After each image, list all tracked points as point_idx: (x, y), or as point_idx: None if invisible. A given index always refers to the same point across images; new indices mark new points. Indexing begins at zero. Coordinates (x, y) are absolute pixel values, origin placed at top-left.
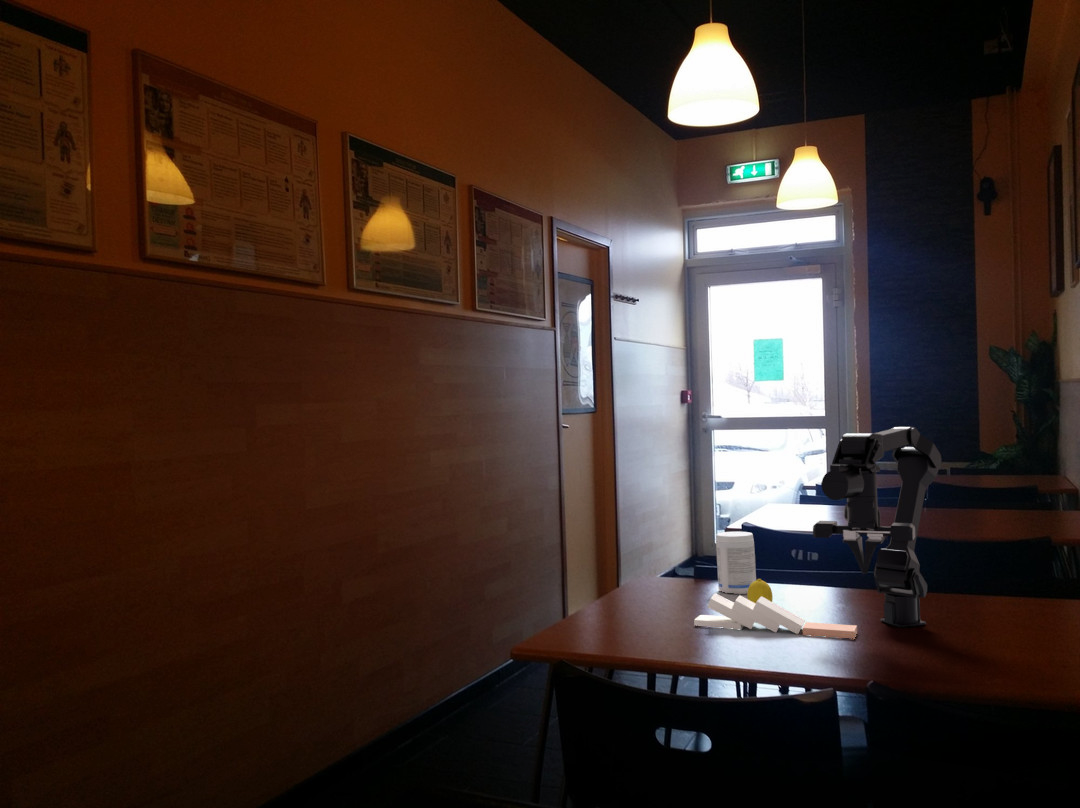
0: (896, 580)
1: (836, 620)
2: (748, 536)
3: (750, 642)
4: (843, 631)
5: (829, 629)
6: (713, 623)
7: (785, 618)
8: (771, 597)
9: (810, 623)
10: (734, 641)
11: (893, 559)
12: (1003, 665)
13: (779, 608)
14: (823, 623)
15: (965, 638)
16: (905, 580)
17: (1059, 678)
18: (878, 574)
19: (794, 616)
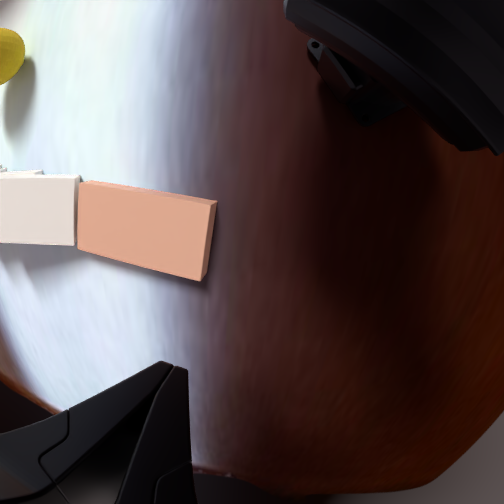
0: (413, 109)
1: (169, 52)
2: None
3: (30, 303)
4: (171, 272)
5: (135, 262)
6: None
7: (35, 242)
8: (6, 58)
9: (88, 197)
10: (14, 296)
11: (467, 18)
12: (450, 409)
13: (10, 199)
14: (117, 191)
15: (488, 236)
16: (459, 149)
17: (474, 436)
18: (308, 25)
19: (47, 197)
